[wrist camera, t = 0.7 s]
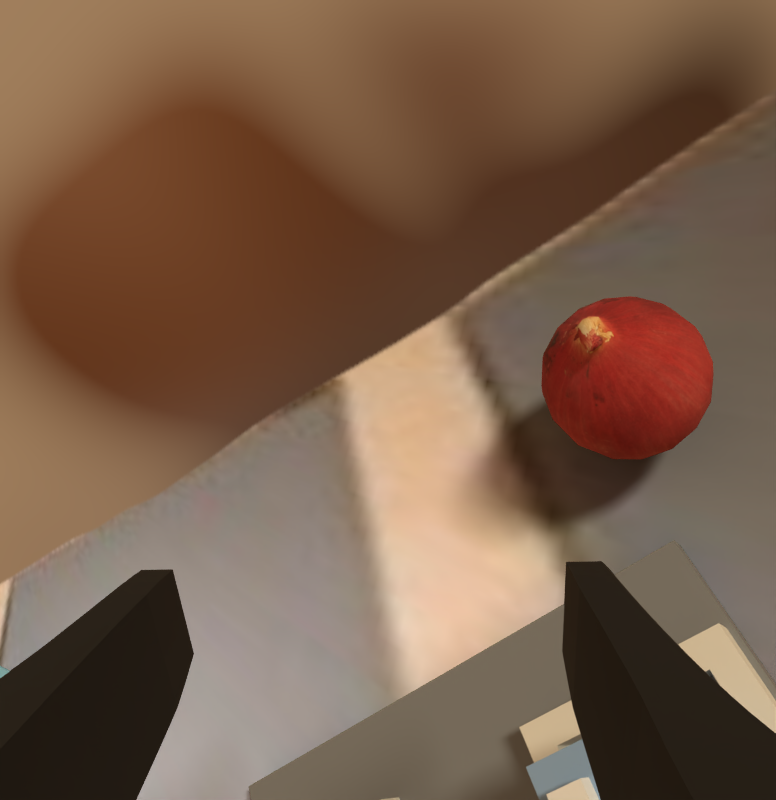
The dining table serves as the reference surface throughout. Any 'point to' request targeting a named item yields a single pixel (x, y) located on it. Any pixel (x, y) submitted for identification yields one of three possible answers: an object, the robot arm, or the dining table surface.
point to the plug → (564, 775)
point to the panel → (514, 705)
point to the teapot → (3, 671)
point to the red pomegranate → (627, 377)
